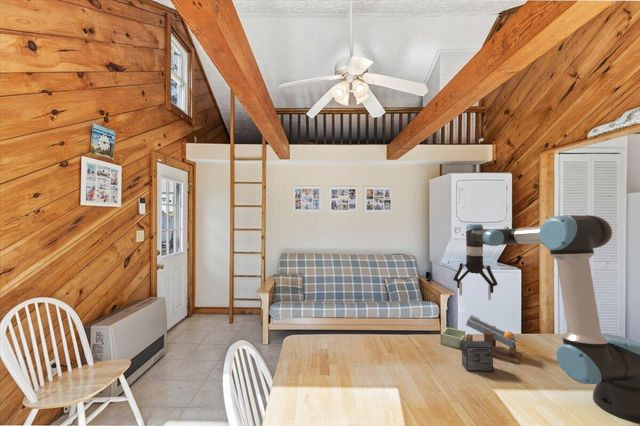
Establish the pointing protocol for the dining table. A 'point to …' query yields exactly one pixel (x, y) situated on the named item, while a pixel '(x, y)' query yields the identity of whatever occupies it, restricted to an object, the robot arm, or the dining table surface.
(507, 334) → the ball
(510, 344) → the lever
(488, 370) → the small box
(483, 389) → the dining table surface
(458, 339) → the dish
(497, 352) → the stand
